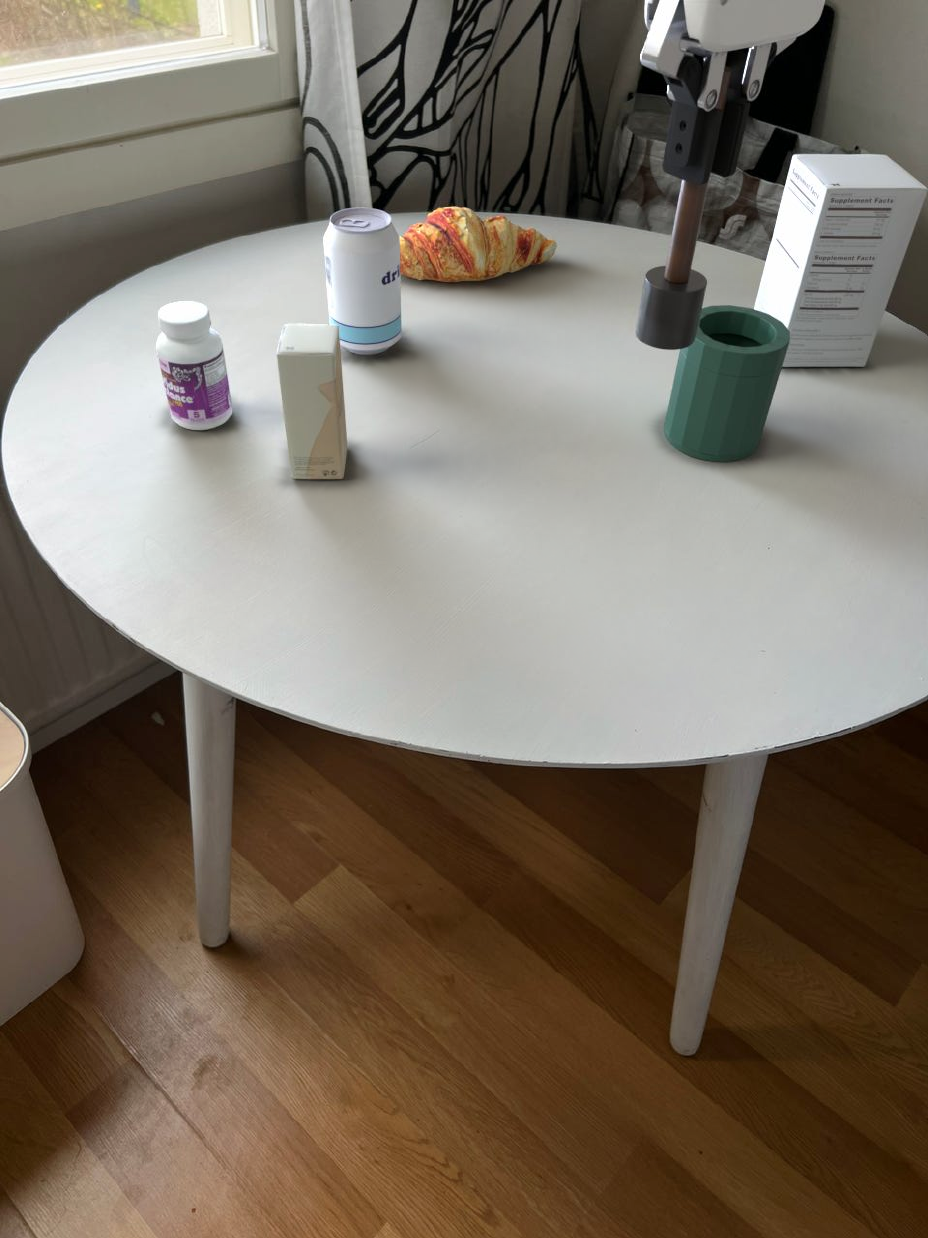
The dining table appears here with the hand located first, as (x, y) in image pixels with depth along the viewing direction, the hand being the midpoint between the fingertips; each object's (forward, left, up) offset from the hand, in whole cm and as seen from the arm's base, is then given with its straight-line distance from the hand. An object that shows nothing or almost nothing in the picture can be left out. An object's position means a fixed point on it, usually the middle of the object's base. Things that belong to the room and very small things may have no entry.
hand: (698, 171), depth 55 cm
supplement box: (-25, -25, -25) cm, 43 cm away
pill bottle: (+34, -17, -25) cm, 46 cm away
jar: (-10, -10, -25) cm, 29 cm away
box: (+24, -9, -25) cm, 36 cm away
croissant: (+7, -45, -25) cm, 52 cm away
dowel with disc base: (0, 0, -11) cm, 11 cm away
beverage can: (+19, -29, -25) cm, 43 cm away
